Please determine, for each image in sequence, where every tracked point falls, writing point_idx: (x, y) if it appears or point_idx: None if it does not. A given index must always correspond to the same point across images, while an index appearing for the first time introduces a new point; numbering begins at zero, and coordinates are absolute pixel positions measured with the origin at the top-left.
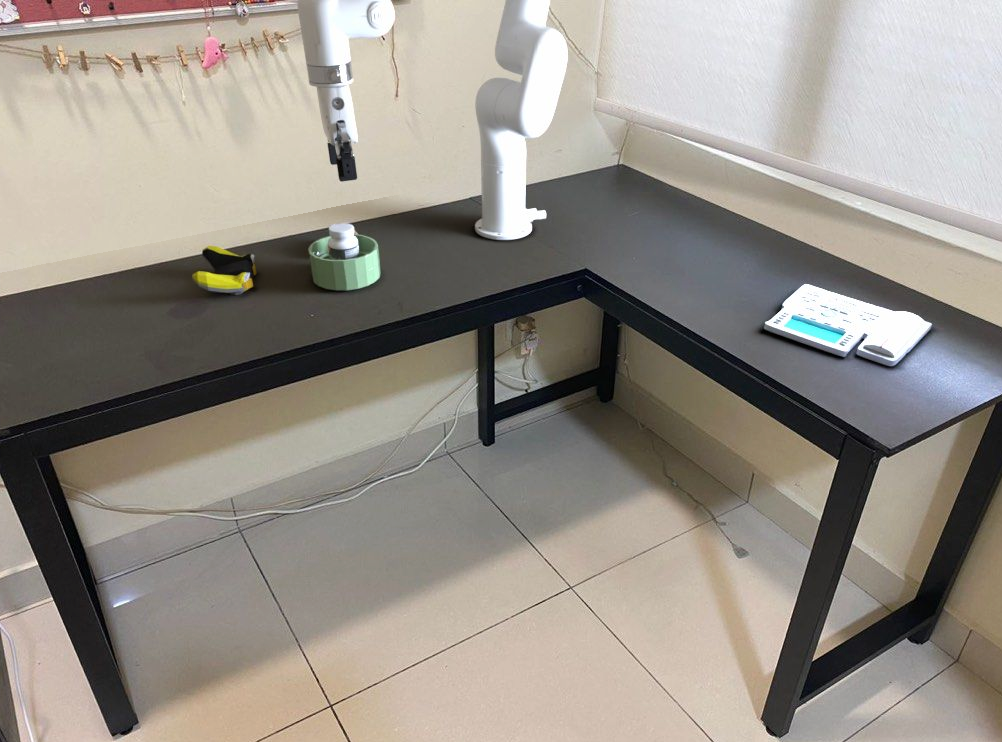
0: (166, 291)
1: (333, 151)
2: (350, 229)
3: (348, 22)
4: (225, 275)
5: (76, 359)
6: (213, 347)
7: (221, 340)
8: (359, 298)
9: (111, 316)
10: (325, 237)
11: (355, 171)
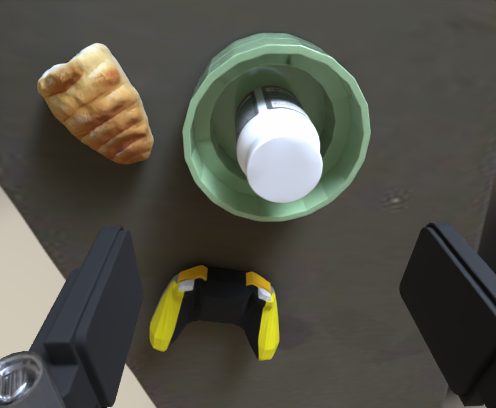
0: (216, 352)
1: (121, 345)
2: (312, 148)
3: None
4: (261, 322)
5: (352, 400)
6: (407, 313)
7: (395, 306)
8: (378, 109)
9: (266, 387)
10: (196, 177)
11: (469, 254)
